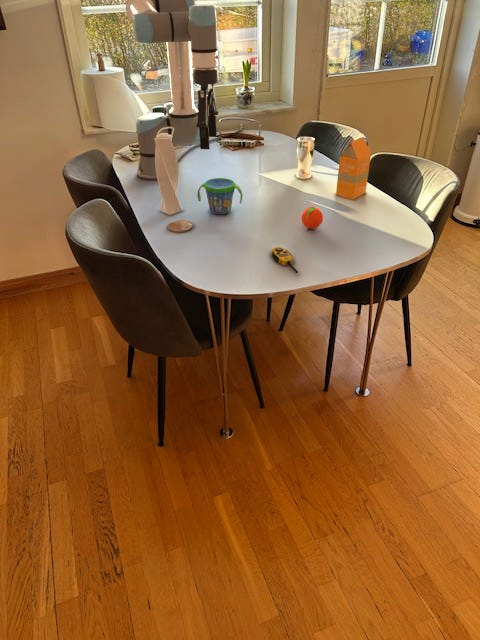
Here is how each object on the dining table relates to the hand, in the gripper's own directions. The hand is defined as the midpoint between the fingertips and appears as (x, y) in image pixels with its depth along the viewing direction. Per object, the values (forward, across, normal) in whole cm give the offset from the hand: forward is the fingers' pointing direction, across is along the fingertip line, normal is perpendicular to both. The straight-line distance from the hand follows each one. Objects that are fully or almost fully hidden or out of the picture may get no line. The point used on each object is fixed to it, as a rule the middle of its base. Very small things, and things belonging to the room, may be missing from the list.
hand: (208, 142), depth 151 cm
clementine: (+24, -9, -34) cm, 43 cm away
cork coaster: (+24, -12, +9) cm, 28 cm away
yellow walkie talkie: (+24, -33, -27) cm, 49 cm away
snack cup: (+25, +3, -2) cm, 25 cm away
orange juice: (+25, +23, -49) cm, 60 cm away
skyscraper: (+25, +1, +15) cm, 29 cm away
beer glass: (+25, +41, -31) cm, 57 cm away
